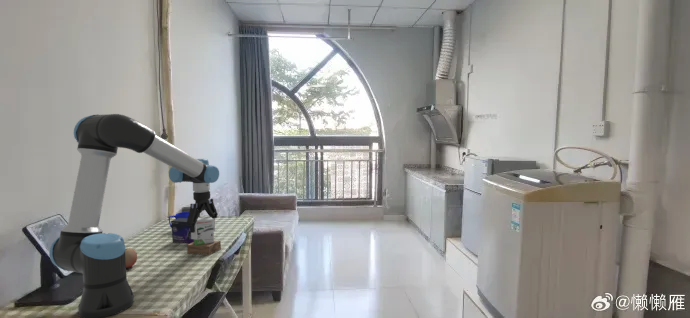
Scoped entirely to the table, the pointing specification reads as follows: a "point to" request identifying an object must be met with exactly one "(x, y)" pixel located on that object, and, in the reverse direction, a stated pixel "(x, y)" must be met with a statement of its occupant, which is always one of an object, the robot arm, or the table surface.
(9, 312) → the table surface
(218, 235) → the table surface
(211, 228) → the ink box
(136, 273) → the table surface
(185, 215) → the mug
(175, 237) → the box
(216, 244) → the walnut block
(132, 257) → the fruit
